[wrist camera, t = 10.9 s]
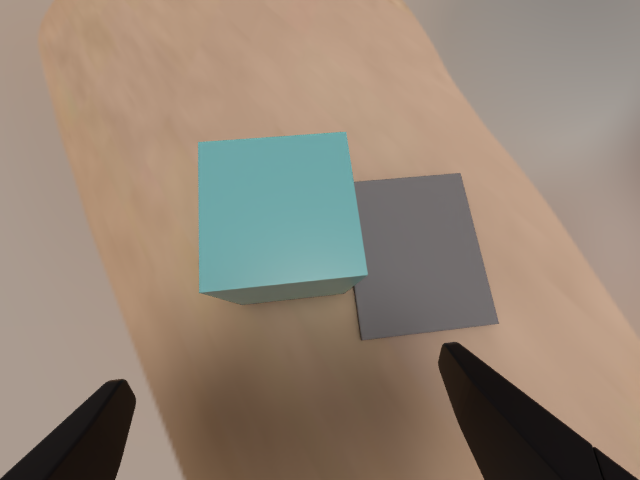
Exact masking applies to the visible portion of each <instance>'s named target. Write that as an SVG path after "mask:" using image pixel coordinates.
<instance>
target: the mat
mask: <svg viewBox="0 0 640 480" xmlns="http://www.w3.org/2000/svg"><path fill="white" fill-rule="evenodd" d="M354 187H355V194H356V200H357V207H358V213H359V220H360V226H361V233H362V239H363V246H364V252H365V259H366V265H367V272H368V275H367V276H366V277H365V278H363V279H362V280H361V281H360V282H358V283H357V284H356V285H354V291H355V299H356V306H357V313H358V320H359V327H360V334H361V340H368V339H377V338H385V337H393V336H401V335H410V334H418V333H426V332H434V331H443V330H451V329H459V328H467V327H476V326H484V325H492V324H499V322H498V318H497V314H496V310H495V307H494V303H493V299H492V295H491V291H490V287H489V283H488V279H487V275H486V271H485V267H484V263H483V260H482V256H481V252H480V248H479V244H478V240H477V236H476V232H475V228H474V224H473V220H472V217H471V213H470V209H469V205H468V201H467V197H466V193H465V189H464V185H463V181H462V177H461V174H460V173H456V174H444V175H432V176H420V177H408V178H396V179H384V180H372V181H360V182H354Z"/></svg>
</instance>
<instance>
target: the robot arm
mask: <svg viewBox="0 0 640 480" xmlns="http://www.w3.org/2000/svg"><path fill="white" fill-rule="evenodd" d="M438 366H439V370H440V373H441V376H442V379H443V382H444V384H445V387H446V390H447V393H448V396H449V399H450V401H451V404H452V407H453V410H454V413H455V416H456V418H457V421H458V423H459V426H460V428H461V430H462V432H463V435H464V437H465V439H466V441H467V443H468V445H469V447H470V450H471V452H472V454H473V456H474V458H475V460H476V463H477V465H478V467H479V469H480V471H481V473H482V475H483V478H484V480H638V479H637V478H636V477H634V476H633V475H632V474H630V473H629V472H628V471H626V470H625V469H624V468H622V467H621V466H620V465H618V464H617V463H616V462H614V461H613V460H612V459H610V458H609V457H608V456H606V455H605V454H604V453H602V452H601V451H600V450H598V449H597V448H596V447H593V446H592V445H591V444H590V443H589V442H588V441H586V440H585V439H584V438H583V437H581V436H580V435H579V434H577V433H576V432H575V431H573V430H572V429H571V428H569V427H568V426H567V425H566V424H564V423H563V422H562V421H560V420H559V419H558V418H556V417H555V416H554V415H552V414H551V413H550V412H549V411H547V410H546V409H545V408H543V407H542V406H541V405H539V404H538V403H537V402H535V401H534V400H533V399H531V398H530V397H529V396H528V395H526V394H525V393H524V392H522V391H521V390H520V389H518V388H517V387H516V386H514V385H513V384H512V383H511V382H509V381H508V380H507V379H505V378H504V377H503V376H501V375H500V374H499V373H497V372H496V371H495V370H494V369H492V368H491V367H490V366H488V365H487V364H486V363H484V362H483V361H482V360H480V359H479V358H478V357H476V356H475V355H474V354H473V353H471V352H470V351H469V350H467V349H466V348H465V347H463V346H462V345H461V344H459V343H457V342H450V343H444V344H443V345H442V348H441V352H440V356H439V361H438ZM135 405H136V398H135V395H134V393H133V391H132V390H131V388H130V386H129V385H128V382H127V381H126V380H124V379H118V380H110V381H108V382H106V383H105V384H103V385H102V386H101V387H100V388H99V389H98V390H97V391H96V392H95V393H94V394H93V395H91V396H90V397H89V398H88V399H87V400H86V401H85V402H84V403H83V404H82V405H81V406H80V407H78V408H77V409H76V410H75V411H74V412H73V413H72V414H71V415H70V416H68V417H67V418H66V419H65V420H64V421H63V422H62V423H61V424H60V425H59V426H57V427H56V428H55V429H54V430H53V431H52V432H51V433H50V434H49V435H48V436H47V437H45V438H44V439H43V440H42V441H41V442H40V443H39V444H38V445H37V446H36V447H35V448H33V450H31V451H30V452H29V453H28V454H27V455H26V456H25V457H24V458H22V459H21V460H20V461H19V462H18V463H17V464H16V465H15V466H14V467H13V468H12V469H10V470H9V471H8V472H7V473H6V474H5V475H4V476H3V477H2V478H1V479H0V480H115V478H116V476H117V472H118V469H119V467H120V463H121V459H122V456H123V452H124V448H125V444H126V440H127V437H128V433H129V429H130V425H131V421H132V417H133V413H134V409H135Z"/></svg>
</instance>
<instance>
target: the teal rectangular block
mask: <svg viewBox="0 0 640 480" xmlns="http://www.w3.org/2000/svg"><path fill="white" fill-rule="evenodd" d="M198 181H199V293H202V294H205V295H209V296H213V297H216V298H220V299H223V300H227V301H230V302H234V303H237V304H241V305H245V304H254V303H263V302H272V301H281V300H291V299H300V298H309V297H318V296H327V295H336V294H344V293H345V292H347V291H348V290H349V289H351V288H352V287H353V286H354V285H356V284H357V283H358V282H360V281H361V280H362V279H363V278H365V277H366V276H367V275H368V272H367V265H366V259H365V252H364V246H363V239H362V233H361V226H360V220H359V213H358V207H357V200H356V194H355V187H354V181H353V174H352V168H351V161H350V155H349V148H348V142H347V135H346V132H336V133H322V134H308V135H294V136H280V137H266V138H252V139H237V140H223V141H209V142H198Z"/></svg>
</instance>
